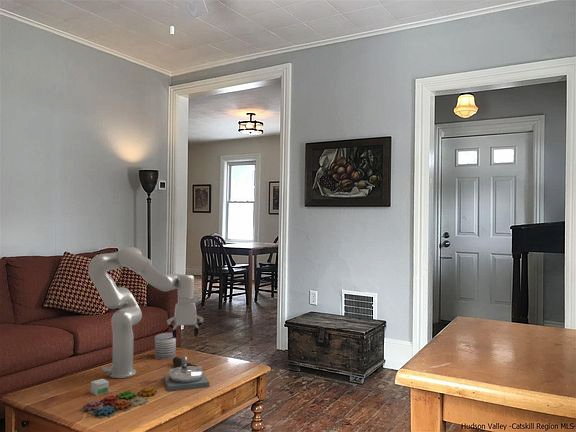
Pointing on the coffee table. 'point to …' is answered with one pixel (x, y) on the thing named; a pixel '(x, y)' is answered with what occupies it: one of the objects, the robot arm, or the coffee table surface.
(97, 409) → the gear puzzle
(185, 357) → the silver disc
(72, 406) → the coffee table surface
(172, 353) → the can
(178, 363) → the hand tool
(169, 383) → the gray plinth
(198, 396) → the coffee table surface
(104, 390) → the small box
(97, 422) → the coffee table surface
